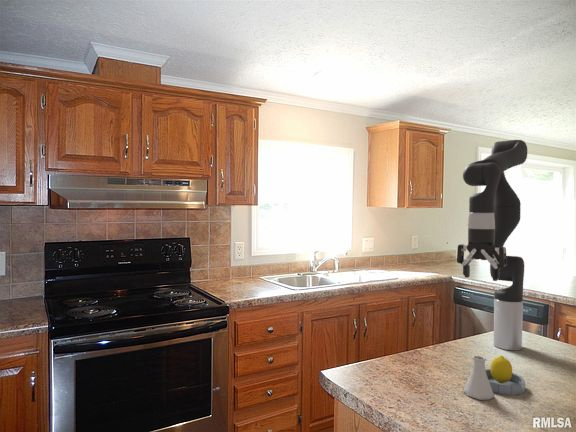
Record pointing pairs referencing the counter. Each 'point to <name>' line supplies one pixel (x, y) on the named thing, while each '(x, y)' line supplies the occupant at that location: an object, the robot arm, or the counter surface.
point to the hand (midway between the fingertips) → (480, 278)
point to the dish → (507, 384)
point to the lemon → (501, 369)
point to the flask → (478, 381)
